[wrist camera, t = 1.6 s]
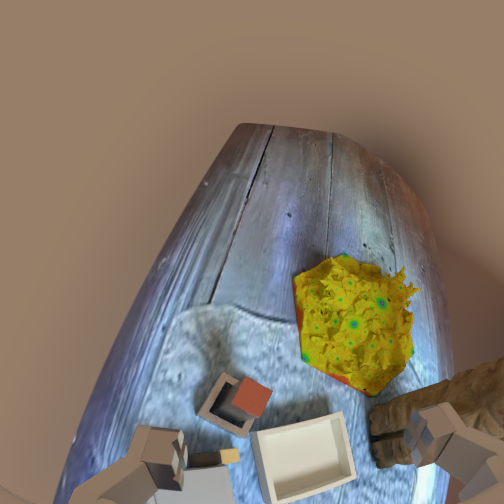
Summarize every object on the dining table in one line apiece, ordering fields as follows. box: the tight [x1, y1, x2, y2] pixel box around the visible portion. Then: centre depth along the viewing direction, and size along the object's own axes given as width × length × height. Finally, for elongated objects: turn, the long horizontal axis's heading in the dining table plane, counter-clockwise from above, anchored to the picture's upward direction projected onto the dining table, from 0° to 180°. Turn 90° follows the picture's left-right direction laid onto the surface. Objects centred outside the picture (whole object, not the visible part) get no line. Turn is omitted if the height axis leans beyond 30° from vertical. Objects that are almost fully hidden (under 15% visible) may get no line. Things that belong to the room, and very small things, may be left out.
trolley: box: [147, 452, 235, 504], centre depth 25 cm, size 10×11×12 cm
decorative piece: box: [292, 253, 420, 397], centre depth 51 cm, size 26×8×30 cm
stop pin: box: [213, 377, 273, 423], centre depth 35 cm, size 4×4×11 cm
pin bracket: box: [196, 372, 255, 438], centre depth 38 cm, size 7×7×2 cm
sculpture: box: [369, 357, 504, 469], centre depth 31 cm, size 12×9×30 cm
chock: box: [216, 447, 240, 464], centre depth 34 cm, size 2×2×2 cm
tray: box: [249, 411, 357, 504], centre depth 36 cm, size 14×12×3 cm
